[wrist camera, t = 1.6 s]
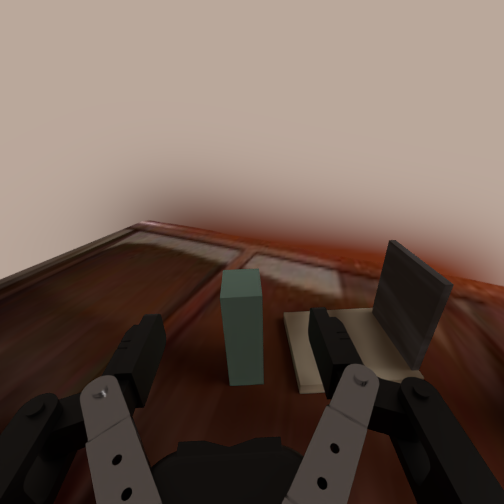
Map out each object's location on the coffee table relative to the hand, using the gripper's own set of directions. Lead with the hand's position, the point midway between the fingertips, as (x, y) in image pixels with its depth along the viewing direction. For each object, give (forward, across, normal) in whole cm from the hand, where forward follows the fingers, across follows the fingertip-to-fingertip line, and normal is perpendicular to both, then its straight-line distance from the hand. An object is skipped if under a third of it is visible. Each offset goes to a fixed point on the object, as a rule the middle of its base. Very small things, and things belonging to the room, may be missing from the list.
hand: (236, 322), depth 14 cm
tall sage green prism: (+12, 0, +18) cm, 21 cm away
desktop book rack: (+14, -13, +18) cm, 26 cm away
